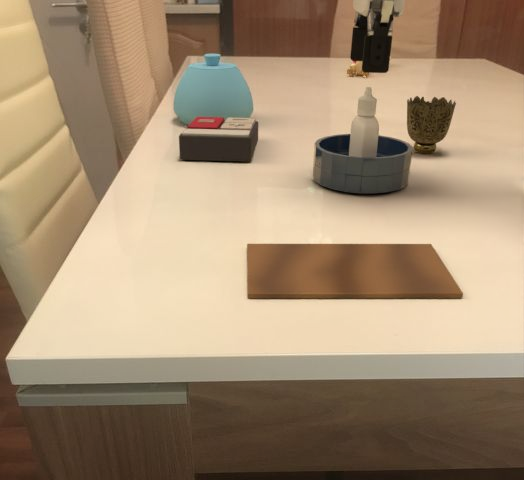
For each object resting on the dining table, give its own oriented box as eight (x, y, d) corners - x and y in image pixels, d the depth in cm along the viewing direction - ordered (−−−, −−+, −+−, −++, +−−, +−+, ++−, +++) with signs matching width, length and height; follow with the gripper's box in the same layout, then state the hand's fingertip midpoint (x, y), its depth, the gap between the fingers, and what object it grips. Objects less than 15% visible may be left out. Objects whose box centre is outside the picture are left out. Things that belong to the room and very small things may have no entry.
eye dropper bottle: (379, 174, 92) (389, 85, 85) (371, 186, 87) (380, 92, 81) (349, 171, 93) (357, 82, 87) (339, 182, 88) (347, 89, 82)
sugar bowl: (255, 129, 116) (256, 59, 110) (172, 129, 115) (168, 59, 109) (251, 112, 129) (251, 48, 123) (176, 112, 128) (172, 48, 122)
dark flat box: (258, 116, 108) (251, 132, 95) (258, 142, 110) (251, 161, 97) (194, 114, 109) (177, 130, 96) (195, 140, 111) (179, 159, 98)
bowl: (397, 168, 96) (401, 133, 93) (417, 196, 85) (422, 158, 82) (309, 167, 96) (310, 133, 93) (317, 196, 84) (320, 158, 82)
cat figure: (375, 83, 167) (394, 62, 186) (378, 46, 162) (397, 28, 180) (338, 80, 170) (360, 59, 189) (340, 44, 165) (363, 27, 183)
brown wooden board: (430, 248, 70) (431, 243, 70) (462, 298, 60) (463, 293, 59) (247, 247, 69) (247, 243, 69) (247, 298, 59) (247, 293, 59)
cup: (446, 147, 107) (454, 96, 103) (449, 159, 101) (458, 105, 96) (400, 145, 108) (407, 94, 104) (401, 156, 102) (407, 103, 97)
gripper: (436, -100, 66) (411, 78, 75) (401, -91, 81) (384, 57, 90) (364, -102, 66) (348, 76, 75) (342, -93, 81) (331, 56, 90)
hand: (368, 66), depth 82 cm, fingers open, 9 cm apart
